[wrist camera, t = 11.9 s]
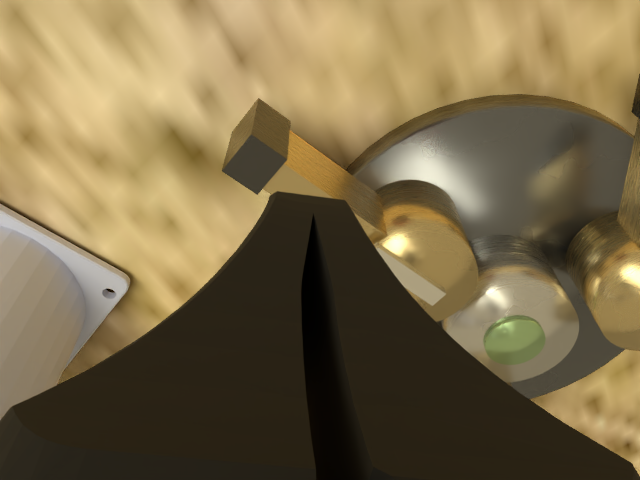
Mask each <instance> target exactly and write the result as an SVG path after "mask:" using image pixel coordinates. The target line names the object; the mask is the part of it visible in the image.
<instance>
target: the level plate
mask: <svg viewBox="0 0 640 480" xmlns="http://www.w3.org/2000/svg"><path fill="white" fill-rule="evenodd" d="M633 142H634V136H632V135H631V134H630V133H629V132H628V131H626V130H625V129H624V128H623V127H621V126H620V125H619V124H618V123H616V122H615V121H613V120H611V119H609V118H608V117H606V116H604V115H602V114H600V113H599V112H597V111H595V110H592V109H589V108H587V107H584V106H581V105H579V104H576V103H574V102H570V101H565V100H561V99H556V98H551V97H546V96H534V95H522V94H517V95H495V96H487V97H481V98H475V99H469V100H464V101H461V102H457V103H454V104H451V105H447V106H444V107H440V108H437V109H435V110H433V111H430V112H428V113H425V114H423V115H421V116H418V117H416V118H414V119H412V120H410V121H408V122H406V123H405V124H403V125H401V126H399V127H398V128H396V129H394V130H392V131H391V132H389V133H388V134H386V135H385V136H384V137H382V138H381V139H379V140H378V141H377V142H375V143H374V144H373V145H371V146H370V147H369V148H367V149H366V150H365V151H364V152H363V153H362V154H361V155H360V156H359V157H358V158H357V159H356V160H355V161H354V162H353V163H352V164H351V165H350V166H349V167H348V168H347V169H346V171H347V172H348V173H350V174H351V175H352V176H354V177H355V178H356V179H358V180H359V181H361V182H362V183H363V184H365V185H366V186H367V187H369V188H370V189H372V190H373V191H376V190H377V189H379V188H381V187H382V186H384V185H387V184H389V183H392V182H396V181H401V180H420V181H425V182H428V183H431V184H434V185H436V186H438V187H439V188H441V189H442V190H444V191H445V192H446V193H447V194H448V195H449V196H450V198H451V199H452V201H453V202H454V204H455V207H456V209H457V212H458V215H459V217H460V220H461V223H462V225H463V228H464V231H465V233H466V236H467V239H468V242H469V244H470V247H471V250H472V252H473V255H474V258H475V260H476V263H477V267H478V282H477V286H476V289H475V291H474V293H473V295H472V296H471V298H470V300H469V301H468V302H467V303H466V304H465V305H464V306H463V307H462V308H461V309H460V310H459V311H457V312H456V313H454V314H453V315H451V316H449V317H447V318H445V319H443V320H441V321H438V322H437V323H438V324H439V325H440V326H441V327H442V328H443V329H444V330H445V331H446V332H447V333H448V334H449V335H450V336H451V337H452V338H453V339H454V340H455V341H456V342H457V343H458V344H460V345H461V346H462V347H463V348H464V349H465V350H466V351H467V352H469V353H470V354H471V355H472V356H473V357H475V358H476V359H477V360H478V361H479V362H481V363H482V364H483V365H484V366H486V367H487V368H488V369H489V370H490V371H492V372H493V373H494V374H495V375H496V376H498V377H499V378H500V379H502V380H503V381H504V382H506V383H509V382H511V385H512V388H514V389H515V390H516V391H518V392H519V393H520V394H522V395H523V396H525V397H526V398H528V399H531V398H534V397H538V396H541V395H544V394H547V393H550V392H552V391H555V390H558V389H560V388H563V387H565V386H568V385H570V384H572V383H574V382H576V381H578V380H580V379H582V378H584V377H586V376H587V375H589V374H591V373H592V372H594V371H595V370H597V369H599V368H600V367H602V366H604V365H605V364H606V363H608V362H609V361H610V360H612V359H613V358H614V357H616V356H617V355H618V354H620V353H621V352H622V351H623V350H625V349H624V348H621V347H618V346H616V345H614V344H613V343H611V342H610V341H609V340H608V339H607V338H606V337H605V336H604V335H603V333H602V331H601V329H600V328H599V326H598V324H597V322H596V321H595V319H594V317H593V315H592V314H591V312H590V310H589V308H588V307H587V305H586V303H585V301H584V300H583V298H582V296H581V294H580V293H579V291H578V289H577V287H576V286H575V284H574V282H573V280H572V279H571V277H570V275H569V273H568V271H567V267H566V254H567V250H568V248H569V245H570V243H571V242H572V240H573V238H574V237H575V236H576V234H577V233H578V232H579V231H580V230H581V229H582V228H583V227H585V226H586V225H587V224H588V223H590V222H591V221H593V220H594V219H596V218H598V217H600V216H602V215H604V214H607V213H610V212H614V211H618V210H619V207H620V202H621V198H622V193H623V188H624V184H625V179H626V174H627V170H628V165H629V160H630V156H631V151H632V146H633Z"/></svg>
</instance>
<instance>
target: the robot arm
mask: <svg viewBox="0 0 640 480" xmlns="http://www.w3.org/2000/svg"><path fill="white" fill-rule="evenodd" d="M129 285H130V279H129V277H128V275H126V274H125V273H124V272H122V271H120V270H118V269H116V268H115V267H113V266H111V265H109V264H107V263H106V262H104V261H102V260H100V259H99V258H97V257H95V256H93V255H91V254H90V253H88V252H86V251H84V250H82V249H81V248H79V247H77V246H75V245H73V244H72V243H70V242H68V241H66V240H64V239H63V238H61V237H59V236H57V235H55V234H54V233H52V232H50V231H48V230H46V229H45V228H43V227H41V226H39V225H37V224H36V223H34V222H32V221H30V220H28V219H27V218H25V217H23V216H21V215H19V214H18V213H16V212H14V211H12V210H10V209H9V208H7V207H5V206H3V205H1V204H0V480H640V476H639V475H638V473H637V471H636V470H635V468H634V466H633V464H632V463H631V462H629V461H627V460H625V459H624V458H622V457H620V456H619V455H617V454H615V453H614V452H612V451H610V450H609V449H607V448H605V447H604V446H602V445H600V444H598V443H597V442H595V441H593V440H592V439H590V438H588V437H587V436H585V435H583V434H582V433H580V432H578V431H577V430H575V429H573V428H572V427H570V426H568V425H566V424H565V423H563V422H562V421H560V420H559V419H557V418H555V417H554V416H552V415H551V414H550V413H548V412H547V411H545V410H544V409H542V408H541V407H539V406H538V405H536V404H535V403H534V402H532V401H531V400H529V399H528V398H526V397H525V396H523V395H522V394H520V393H519V392H518V391H516V390H515V389H514V388H512V387H511V386H510V385H508V384H507V383H506V382H504V381H503V380H502V379H500V378H499V377H498V376H496V375H495V374H494V373H493V372H492V371H490V370H489V369H488V368H487V367H486V366H484V365H483V364H482V363H481V362H479V361H478V360H477V359H476V358H475V357H473V356H472V355H471V354H470V353H469V352H467V351H466V350H465V349H464V348H463V347H462V346H461V345H460V344H458V343H457V342H456V341H455V340H454V339H453V338H452V337H451V336H450V335H449V334H448V333H447V332H446V331H445V330H444V329H443V328H442V327H441V326H440V325H439V324H438V323H437V322H436V321H435V320H434V319H433V318H432V317H431V316H430V315H429V314H428V313H427V312H426V311H425V310H424V309H423V308H422V307H421V306H420V305H419V304H418V303H417V302H416V300H415V299H414V298H413V297H412V296H411V294H410V293H409V292H408V291H407V290H406V288H405V287H404V286H403V285H402V284H401V282H400V281H399V280H398V279H397V277H396V276H395V275H394V273H393V272H392V271H391V269H390V268H389V266H388V265H387V264H386V262H385V261H384V259H383V258H382V257H381V255H380V254H379V252H378V251H377V249H376V248H375V246H374V245H373V243H372V242H371V240H370V239H369V237H368V236H367V234H366V232H365V231H364V229H363V228H362V226H361V224H360V223H359V221H358V219H357V218H356V216H355V214H354V213H353V211H352V209H351V207H350V206H349V205H348V203H347V202H346V200H341V199H334V198H326V197H318V196H311V195H303V194H295V193H288V192H280V191H276V192H275V193H273V194H272V195H270V197H269V201H268V203H267V205H266V208H265V210H264V211H263V213H262V215H261V217H260V218H259V220H258V221H257V223H256V225H255V226H254V228H253V229H252V230H251V232H250V233H249V234H248V236H247V237H246V238H245V240H244V241H243V243H242V244H241V245H240V247H239V248H238V249H237V250H236V252H235V253H234V254H233V255H232V256H231V257H230V258H229V260H228V261H227V262H226V263H225V264H224V265H223V266H222V267H221V269H220V270H219V271H218V272H217V273H216V274H215V275H214V276H213V277H212V278H211V279H210V280H209V281H208V282H207V283H206V284H205V285H204V286H203V287H202V288H201V289H200V290H199V291H198V292H197V293H196V294H195V295H194V296H193V297H191V298H190V299H189V300H188V301H187V302H186V303H185V304H184V305H182V306H181V307H180V308H179V309H178V310H176V311H175V312H174V313H172V314H171V315H170V316H169V317H167V318H166V319H165V320H163V321H162V322H161V323H160V324H158V325H157V326H156V327H154V328H153V329H152V330H150V331H149V332H148V333H146V334H145V335H143V336H142V337H140V338H139V339H137V340H136V341H134V342H133V343H131V344H130V345H128V346H126V347H125V348H123V349H122V350H120V351H118V352H117V353H115V354H113V355H112V356H110V357H109V358H107V359H105V360H104V361H102V362H101V363H99V364H97V365H96V366H94V367H92V368H90V369H89V370H87V371H85V372H83V373H81V374H79V375H77V376H75V377H73V378H71V379H69V380H67V381H65V382H63V383H61V384H58V381H59V379H60V377H61V375H62V373H63V371H64V369H65V368H66V367H67V366H68V364H69V363H70V362H71V361H72V359H73V358H74V357H75V356H76V354H77V353H78V352H79V351H80V349H81V348H82V347H83V346H84V344H85V343H86V342H87V341H88V339H89V338H90V337H91V336H92V334H93V333H94V332H95V331H96V329H97V328H98V327H99V326H100V324H101V323H102V322H103V321H104V319H105V318H106V317H107V316H108V314H109V313H110V312H111V311H112V309H113V308H114V307H115V306H116V304H117V303H118V302H119V301H120V299H121V298H122V297H123V296H124V294H125V293H126V292H127V290H128V288H129ZM108 288H109V289H112V290H113V291H115V292H114V293H112V292H108V291H107V290H106V289H108ZM57 384H58V385H57Z"/></svg>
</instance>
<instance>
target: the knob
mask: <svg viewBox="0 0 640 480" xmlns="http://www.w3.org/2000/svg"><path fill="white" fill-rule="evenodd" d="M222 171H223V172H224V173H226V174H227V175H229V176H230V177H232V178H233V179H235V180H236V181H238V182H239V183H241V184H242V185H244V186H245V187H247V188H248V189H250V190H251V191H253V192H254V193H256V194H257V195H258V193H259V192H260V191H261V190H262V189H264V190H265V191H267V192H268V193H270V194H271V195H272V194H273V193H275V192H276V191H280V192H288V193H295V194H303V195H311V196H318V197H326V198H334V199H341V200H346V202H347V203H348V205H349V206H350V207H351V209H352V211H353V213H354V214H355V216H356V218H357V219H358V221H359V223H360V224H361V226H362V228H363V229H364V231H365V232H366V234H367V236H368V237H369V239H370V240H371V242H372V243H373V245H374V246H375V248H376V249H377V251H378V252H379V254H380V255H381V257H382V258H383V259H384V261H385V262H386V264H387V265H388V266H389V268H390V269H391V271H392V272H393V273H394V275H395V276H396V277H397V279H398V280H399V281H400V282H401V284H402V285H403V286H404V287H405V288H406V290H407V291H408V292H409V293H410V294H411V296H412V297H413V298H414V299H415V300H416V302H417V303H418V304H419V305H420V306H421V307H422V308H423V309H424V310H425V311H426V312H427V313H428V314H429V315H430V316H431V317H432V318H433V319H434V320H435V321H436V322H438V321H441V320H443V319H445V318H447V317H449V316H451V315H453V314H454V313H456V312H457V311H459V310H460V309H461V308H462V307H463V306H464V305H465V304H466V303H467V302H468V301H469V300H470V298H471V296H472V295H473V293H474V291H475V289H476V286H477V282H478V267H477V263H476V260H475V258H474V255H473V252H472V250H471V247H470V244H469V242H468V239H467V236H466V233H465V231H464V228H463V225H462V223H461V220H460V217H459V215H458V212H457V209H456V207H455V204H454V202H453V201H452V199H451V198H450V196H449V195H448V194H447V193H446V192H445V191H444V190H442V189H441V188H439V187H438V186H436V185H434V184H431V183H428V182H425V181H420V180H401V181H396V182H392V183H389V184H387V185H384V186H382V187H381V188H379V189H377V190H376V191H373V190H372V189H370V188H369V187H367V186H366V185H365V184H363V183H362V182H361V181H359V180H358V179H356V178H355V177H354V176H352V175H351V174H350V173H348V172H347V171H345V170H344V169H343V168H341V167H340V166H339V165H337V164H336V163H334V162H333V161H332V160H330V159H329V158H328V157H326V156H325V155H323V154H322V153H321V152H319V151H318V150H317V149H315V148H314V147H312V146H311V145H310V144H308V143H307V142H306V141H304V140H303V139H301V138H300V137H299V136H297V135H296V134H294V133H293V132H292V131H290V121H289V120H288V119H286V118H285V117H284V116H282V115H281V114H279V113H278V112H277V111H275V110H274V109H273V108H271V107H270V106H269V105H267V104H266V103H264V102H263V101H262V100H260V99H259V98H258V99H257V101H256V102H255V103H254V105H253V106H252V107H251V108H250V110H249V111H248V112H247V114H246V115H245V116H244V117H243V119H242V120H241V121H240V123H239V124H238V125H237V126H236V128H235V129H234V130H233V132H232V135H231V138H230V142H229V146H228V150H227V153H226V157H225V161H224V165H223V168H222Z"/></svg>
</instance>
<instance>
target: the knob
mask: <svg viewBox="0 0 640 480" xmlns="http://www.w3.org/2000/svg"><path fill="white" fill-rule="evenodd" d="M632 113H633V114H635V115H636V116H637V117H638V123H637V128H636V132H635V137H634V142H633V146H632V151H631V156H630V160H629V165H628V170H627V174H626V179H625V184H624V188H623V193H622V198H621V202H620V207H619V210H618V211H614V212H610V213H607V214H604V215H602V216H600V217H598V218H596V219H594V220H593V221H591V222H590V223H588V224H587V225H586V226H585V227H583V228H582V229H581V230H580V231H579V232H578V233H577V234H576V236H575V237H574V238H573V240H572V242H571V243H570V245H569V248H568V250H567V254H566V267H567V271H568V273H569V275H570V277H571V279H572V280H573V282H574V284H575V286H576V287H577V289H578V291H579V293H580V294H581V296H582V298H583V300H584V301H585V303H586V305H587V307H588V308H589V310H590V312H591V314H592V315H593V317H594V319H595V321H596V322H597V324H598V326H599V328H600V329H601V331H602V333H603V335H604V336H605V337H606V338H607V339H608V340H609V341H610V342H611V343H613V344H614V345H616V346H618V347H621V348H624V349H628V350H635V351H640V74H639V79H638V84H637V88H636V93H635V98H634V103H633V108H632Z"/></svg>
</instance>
